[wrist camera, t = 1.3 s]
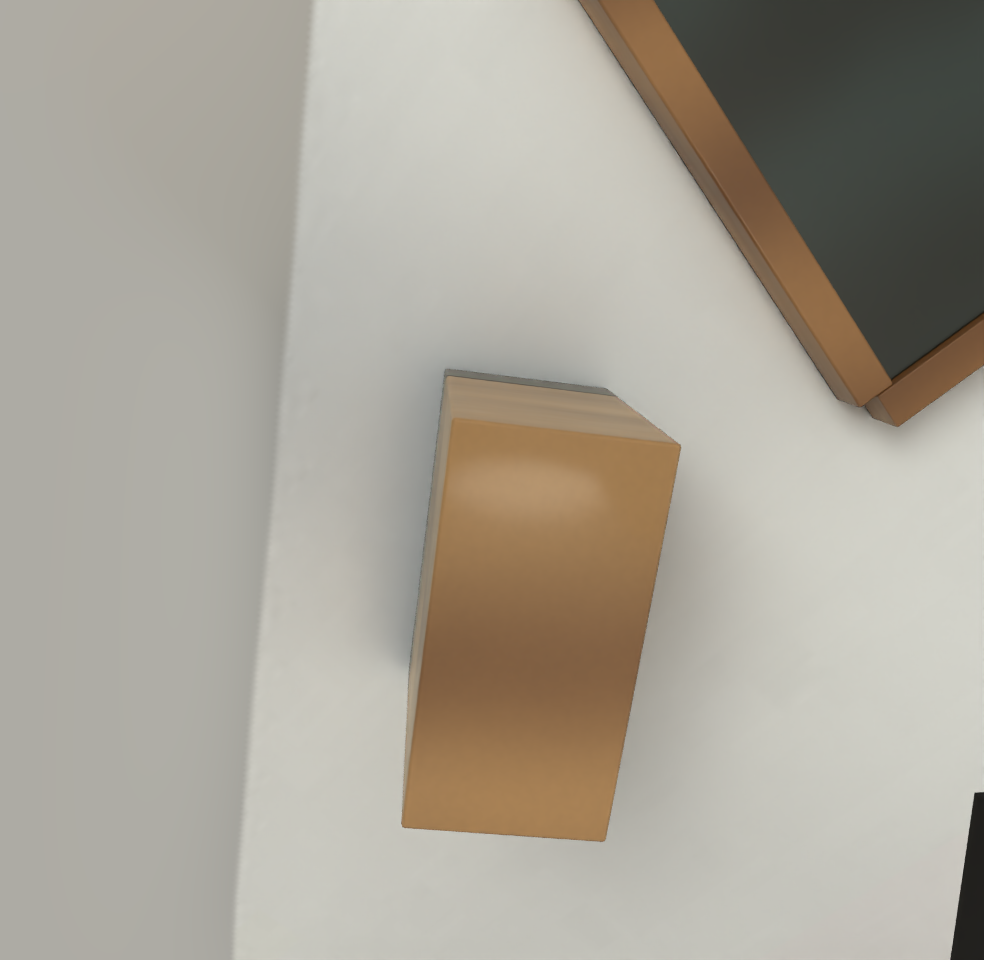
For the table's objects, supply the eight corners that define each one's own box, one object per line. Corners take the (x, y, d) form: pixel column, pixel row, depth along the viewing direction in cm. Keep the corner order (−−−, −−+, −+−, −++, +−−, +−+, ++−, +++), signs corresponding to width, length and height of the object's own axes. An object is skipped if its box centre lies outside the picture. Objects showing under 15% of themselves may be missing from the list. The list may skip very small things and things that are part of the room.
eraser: (445, 368, 26) (451, 417, 18) (607, 388, 26) (683, 445, 18) (409, 670, 28) (400, 829, 20) (558, 684, 29) (606, 843, 21)
